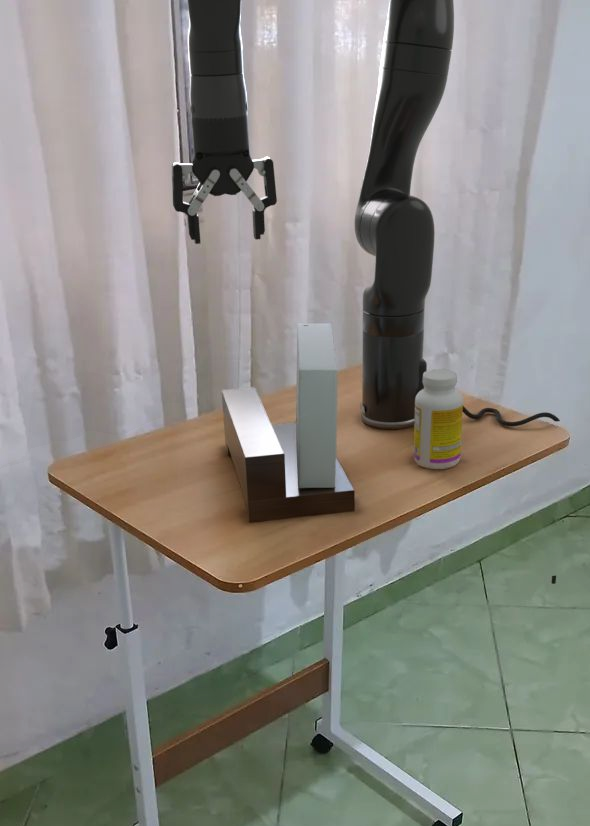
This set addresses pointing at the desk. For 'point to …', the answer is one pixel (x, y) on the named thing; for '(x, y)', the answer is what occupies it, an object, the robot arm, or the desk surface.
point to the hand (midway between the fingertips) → (227, 240)
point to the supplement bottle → (438, 421)
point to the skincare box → (316, 406)
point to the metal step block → (274, 464)
